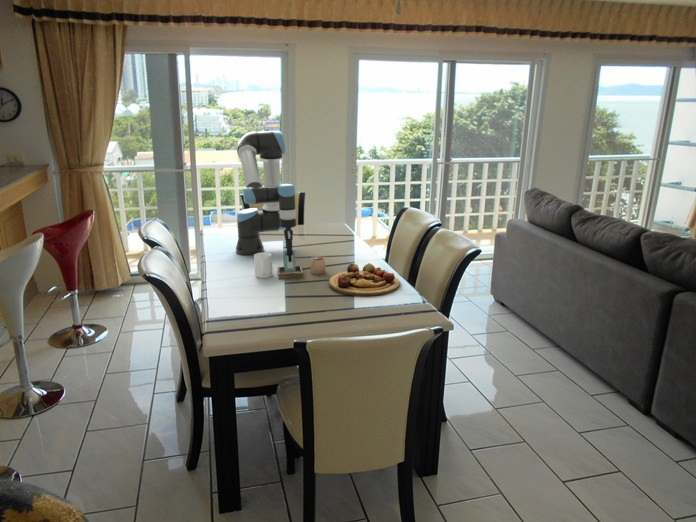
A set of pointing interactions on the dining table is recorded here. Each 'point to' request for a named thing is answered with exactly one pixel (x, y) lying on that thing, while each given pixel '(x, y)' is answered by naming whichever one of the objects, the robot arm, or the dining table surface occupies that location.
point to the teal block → (286, 260)
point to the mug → (263, 265)
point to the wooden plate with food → (364, 281)
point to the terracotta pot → (317, 265)
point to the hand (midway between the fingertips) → (289, 266)
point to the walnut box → (290, 273)
